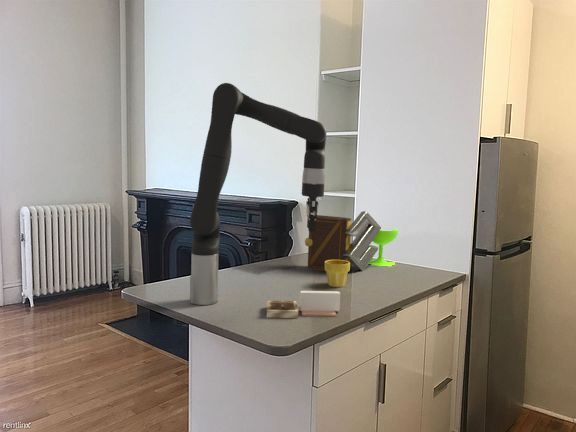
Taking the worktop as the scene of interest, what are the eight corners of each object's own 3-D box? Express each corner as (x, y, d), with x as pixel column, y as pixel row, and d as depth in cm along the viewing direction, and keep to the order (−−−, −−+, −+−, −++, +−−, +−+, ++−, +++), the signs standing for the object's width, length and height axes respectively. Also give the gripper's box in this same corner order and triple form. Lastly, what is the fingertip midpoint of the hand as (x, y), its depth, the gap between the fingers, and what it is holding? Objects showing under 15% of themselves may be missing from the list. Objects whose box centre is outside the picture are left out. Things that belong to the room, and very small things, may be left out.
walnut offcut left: (270, 313, 158) (271, 302, 157) (270, 311, 160) (271, 300, 160) (281, 313, 158) (281, 302, 157) (281, 311, 160) (281, 300, 160)
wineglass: (383, 268, 235) (384, 231, 233) (357, 263, 247) (359, 227, 245) (402, 265, 246) (404, 229, 244) (377, 259, 258) (379, 225, 256)
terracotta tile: (302, 315, 159) (302, 313, 159) (300, 306, 169) (300, 305, 169) (336, 316, 159) (336, 314, 159) (332, 307, 169) (332, 305, 169)
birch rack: (266, 317, 156) (266, 310, 156) (266, 307, 167) (267, 300, 167) (298, 318, 156) (298, 310, 156) (296, 307, 167) (296, 301, 167)
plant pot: (318, 285, 200) (319, 261, 199) (334, 281, 207) (334, 258, 206) (338, 290, 193) (339, 265, 192) (354, 285, 200) (355, 262, 199)
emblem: (370, 265, 242) (372, 209, 239) (379, 267, 239) (382, 210, 236) (338, 274, 221) (341, 212, 218) (348, 276, 217) (351, 213, 214)
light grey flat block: (339, 311, 163) (300, 310, 162) (338, 308, 165) (300, 308, 165) (340, 293, 162) (301, 292, 162) (339, 291, 165) (300, 290, 164)
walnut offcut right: (283, 313, 158) (283, 303, 157) (283, 311, 160) (283, 300, 160) (293, 313, 158) (294, 303, 158) (293, 311, 160) (293, 301, 160)
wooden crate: (351, 271, 227) (353, 218, 224) (343, 275, 220) (345, 219, 217) (310, 265, 238) (311, 214, 236) (301, 268, 231) (302, 215, 229)
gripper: (301, 180, 173) (299, 226, 174) (303, 182, 158) (300, 232, 160) (322, 181, 173) (320, 227, 174) (326, 183, 158) (323, 233, 160)
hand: (310, 229), depth 167 cm, fingers open, 8 cm apart
